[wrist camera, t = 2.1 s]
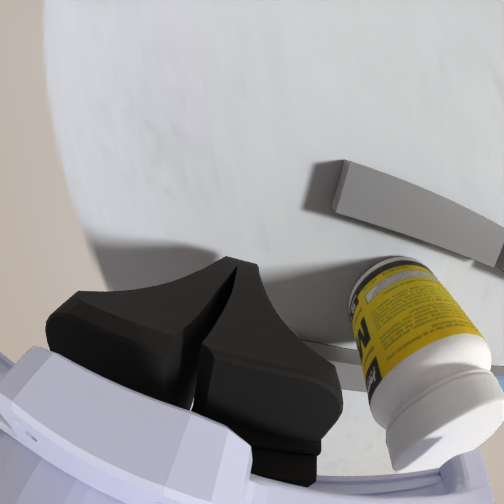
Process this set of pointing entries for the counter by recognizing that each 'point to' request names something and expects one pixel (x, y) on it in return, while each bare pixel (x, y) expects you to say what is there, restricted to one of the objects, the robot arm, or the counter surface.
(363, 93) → the counter surface
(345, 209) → the grey and blue rails
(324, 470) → the counter surface
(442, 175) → the counter surface
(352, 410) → the counter surface
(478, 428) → the supplement bottle
